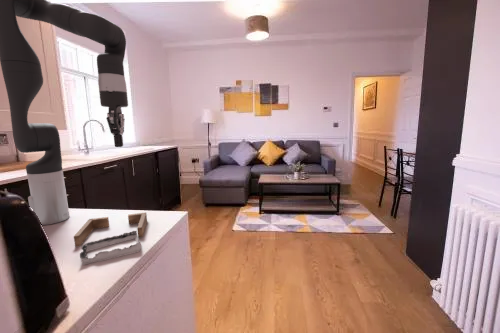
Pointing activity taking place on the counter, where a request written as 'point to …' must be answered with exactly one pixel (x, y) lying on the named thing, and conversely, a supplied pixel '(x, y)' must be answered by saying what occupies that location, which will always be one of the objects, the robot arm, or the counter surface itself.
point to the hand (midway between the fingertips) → (119, 146)
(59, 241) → the counter surface
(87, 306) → the counter surface
